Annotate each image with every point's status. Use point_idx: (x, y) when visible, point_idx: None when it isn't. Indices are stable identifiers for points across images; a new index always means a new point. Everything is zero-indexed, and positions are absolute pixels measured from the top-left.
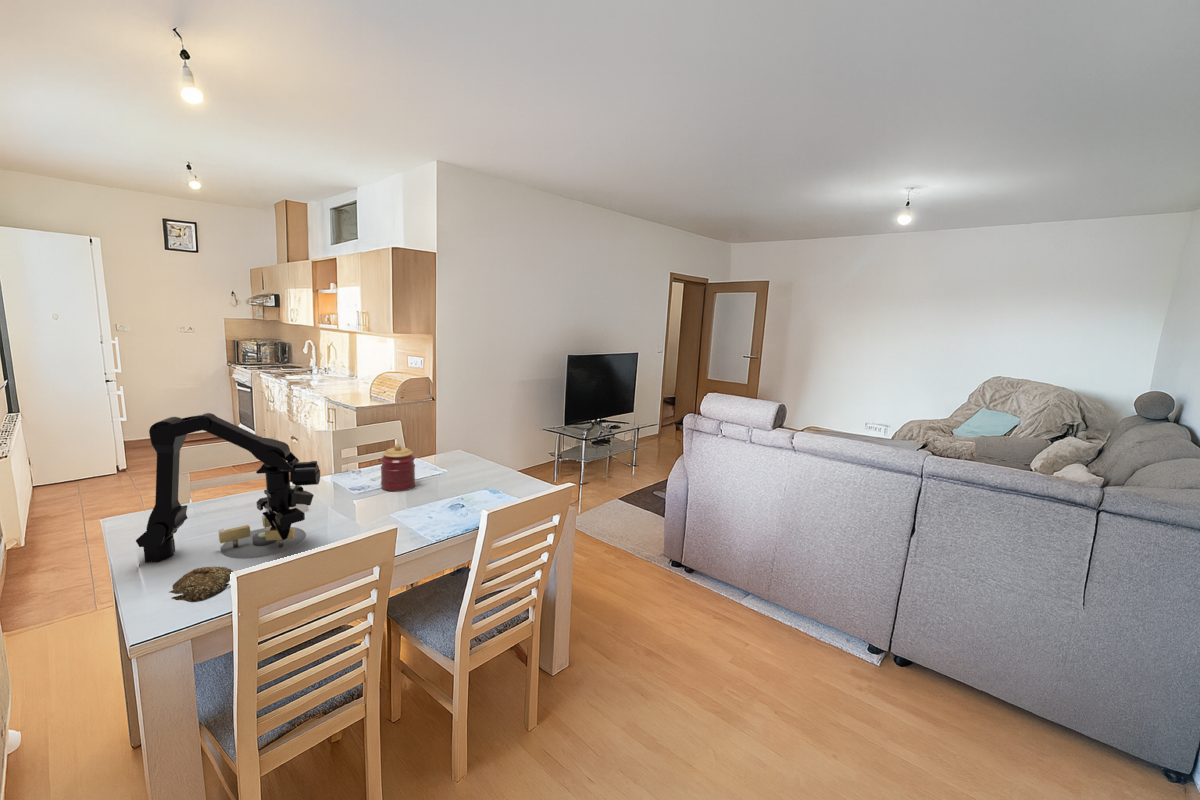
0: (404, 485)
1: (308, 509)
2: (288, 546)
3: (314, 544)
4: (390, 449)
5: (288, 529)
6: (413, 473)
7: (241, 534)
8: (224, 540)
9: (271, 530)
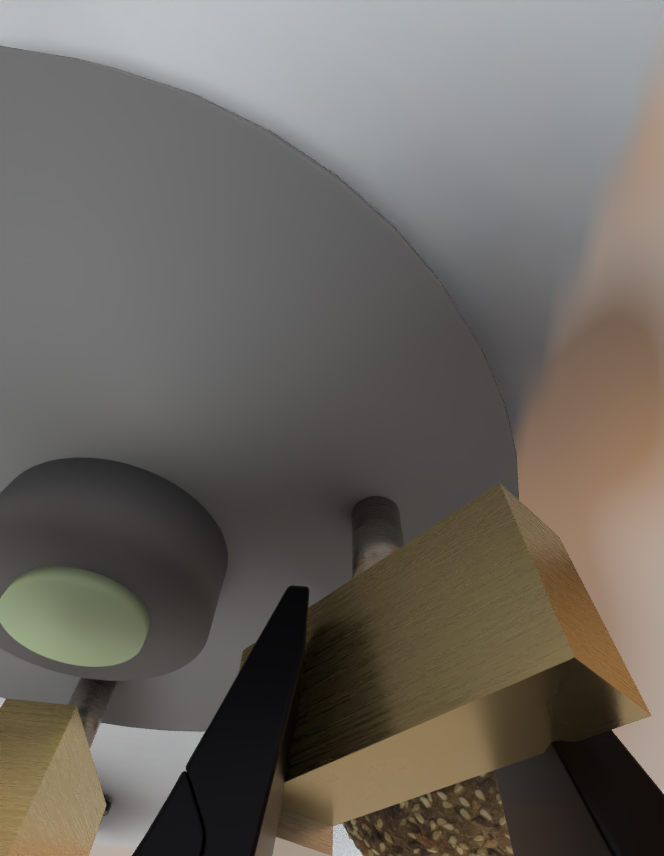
0: None
1: None
2: (437, 471)
3: (570, 146)
4: None
5: (650, 797)
6: None
7: (66, 793)
8: (95, 819)
9: (344, 818)
